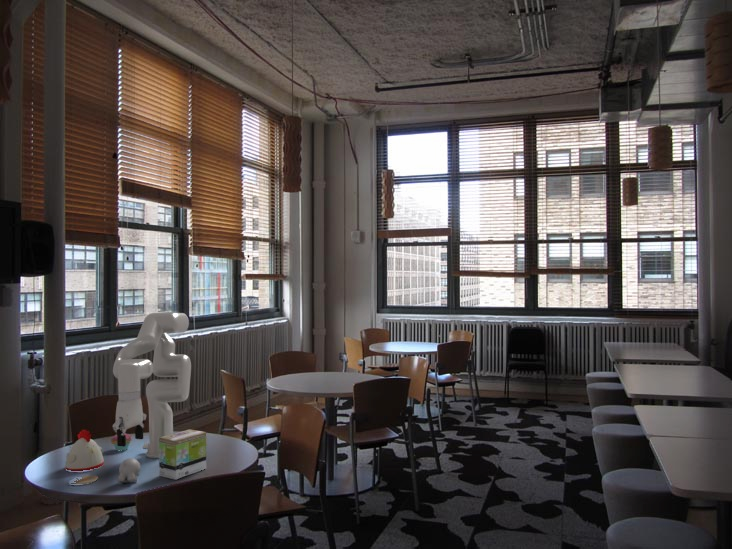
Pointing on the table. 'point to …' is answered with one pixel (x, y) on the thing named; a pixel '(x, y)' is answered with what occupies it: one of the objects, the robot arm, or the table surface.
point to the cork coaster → (86, 479)
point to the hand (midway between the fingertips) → (130, 442)
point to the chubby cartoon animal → (129, 471)
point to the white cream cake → (84, 454)
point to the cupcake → (114, 441)
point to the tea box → (182, 454)
